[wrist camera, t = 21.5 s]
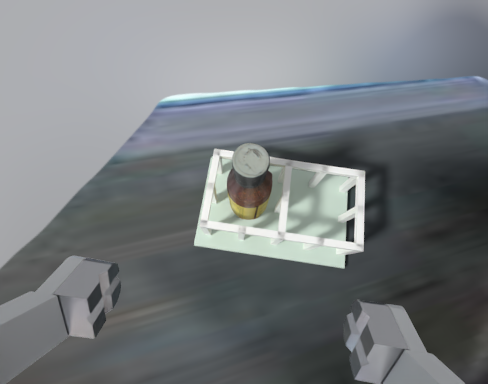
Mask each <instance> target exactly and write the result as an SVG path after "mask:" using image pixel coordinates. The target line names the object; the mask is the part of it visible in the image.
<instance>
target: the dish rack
mask: <svg viewBox="0 0 488 384" xmlns="http://www.w3.org/2000/svg"><path fill="white" fill-rule="evenodd" d="M233 154H234V152H233V151H226V150H220V149H214V153H213V157H211V161H210V166H209V171H208V176H207V181H206V186H205V191H204V196H203V201H202V206H201V211H200V216H199V221H198V227H197V232H196V237H195V242H194V246H199V247H206V248H212V249H219V250H225V251H232V252H238V253H245V254H251V255H258V256H264V257H271V258H278V259H284V260H291V261H297V262H304V263H310V264H317V265H323V266H330V267H336V268H345V255H347V254H352V253H357V252H363V250H364V202H365V171H361V170H355V169H348V168H341V167H334V166H328V165H321V164H314V163H307V162H301V161H294V160H287V159H280V158H274V157H270V165H272V166H269V169H268V171H270V172H271V173H272V180H273V182H272V191H271V194H270V197H269V200H268V204H267V207H266V209H265V211H264V212H263V213H262V214H261V215H260V216H259V217H258V218H256V219H252V220H246V219H241V218H239V217H238V216H237V215H236V214H235V213H234V212H233V210H232V208H231V205H230V201H229V197H228V192H227V178H228V175H229V172H230V171H231V169H232V157H233ZM222 158H225V159H222ZM229 159H231V160H229ZM276 166H278V167H276ZM296 169H299V170H296ZM303 170H305V171H303ZM310 171H312V172H310ZM330 174H332V175H330ZM337 175H339V176H337ZM343 176H346V177H343ZM348 177H350V178H349V179H348ZM355 184H356V199H355V207H353V208H352V209H350V210H348V211H347V195H348V190H349V189H350V188H351V187H353V186H354V185H355ZM353 218H355V232H354V243H353V242H346V221H348V220H351V219H353Z"/></svg>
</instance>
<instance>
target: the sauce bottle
mask: <svg viewBox="0 0 488 384" xmlns="http://www.w3.org/2000/svg"><path fill="white" fill-rule="evenodd" d="M269 166H270V157H269V154H268V153H267V151H266V150H265V148H263V147H262V146H260V145H258V144H254V143H246V144H243V145H241V146H239V147H238V148H237V149H236V150H235V151H234V154H233V157H232V169H231V171H230V172H229V175H228V178H227V192H228V197H229V201H230V205H231V208H232V210H233V212H234V213H235V214H236V215H237V216H238V217H239V218H241V219H246V220H252V219H256V218H258V217H259V216H260V215H261V214H262V213H263V212H264V211H265V209H266V207H267V204H268V200H269V197H270V194H271V191H272V182H273V180H272V173H271V172H270V171H268V169H269Z"/></svg>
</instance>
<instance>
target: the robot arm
mask: <svg viewBox="0 0 488 384" xmlns="http://www.w3.org/2000/svg"><path fill="white" fill-rule="evenodd" d="M118 272H119V267H118V264H117V263H114V262H108V261H103V260H97V259H92V258H85V257H79V256H71V257H69V258H67V259H66V260H65V261H64V262H63V263H62V264H61V265H60V267H59V268H58V269H57V270H56V271H55V272H54V273H53V274H52V275H51V276H50V277H49V278H48V279H47V280H46V281H45V282H44V283H43V284H42V285H41V286H40V287H39V288H38V290H37V291H36V292H31V291H30V292H28V293H26V294H24V295H22V296H20V297H18V298H15V299H13V300H11V301H9V302H7V303H5V304H3V305H0V384H6V383H7V382H8V381H10V380H11V379H12V378H14V377H15V376H16V375H18V374H19V373H20V372H22V371H23V370H24V369H26V368H27V367H29V366H30V365H31V364H33V363H34V362H35V361H37V360H38V359H39V358H41V357H42V356H43V355H45V354H46V353H47V352H49V351H50V350H51V349H53V348H54V347H55V346H57V345H58V344H59V343H61V342H62V341H63V340H65V339H66V338H67V337H68V335H70V336H78V337H85V338H93V339H95V338H96V336H97V334H98V333H99V331H100V329H101V328H102V326H103V324H104V323H105V321H106V317H105V313H107V312H108V311H110V310H112V309H113V308H114V306H115V304H116V302H117V300H118V297H119V294H120V289H121V283H120V280H119V279H118V278H117V277H116V275H117V274H118ZM351 310H352V313H351V314H349V315H347V316H346V319H345V321H344V327H343V334H344V340H345V345H346V346H347V347H348V348H349V349H350V351H351V352H352V353H351V355H350V357H349V360H350V364H351V368H352V372H353V376H354V379H355V380H360V381H365V382H371V383H376V384H465V383H464V382H463V381H462V380H461V379H460V378H459V377H457V376H456V375H455V374H454V373H453V372H452V371H451V370H450V369H449V368H447V367H446V366H445V365H444V364H443V363H442V362H441V361H440V360H439V359H437V358H436V357H435V356H434V355H433V354H430V353H427V351H426V349H425V347H424V345H423V343H422V342H421V340H420V338H419V336H418V334H417V332H416V330H415V328H414V326H413V324H412V322H411V320H410V319H409V317H408V315H407V313H406V311H405V309H404V308H403V307H402V306H397V305H390V304H384V303H377V302H370V301H363V300H355V301H353V303H352V305H351Z"/></svg>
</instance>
